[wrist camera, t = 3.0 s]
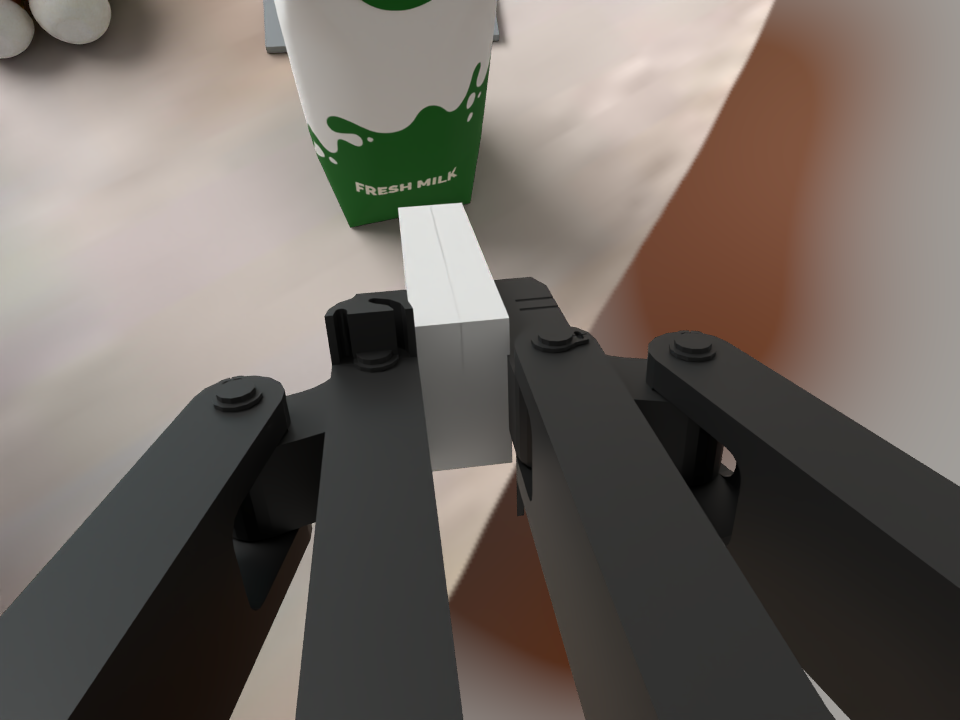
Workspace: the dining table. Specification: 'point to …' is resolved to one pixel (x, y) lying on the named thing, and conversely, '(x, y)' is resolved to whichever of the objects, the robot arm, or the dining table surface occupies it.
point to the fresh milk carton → (392, 97)
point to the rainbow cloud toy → (51, 22)
